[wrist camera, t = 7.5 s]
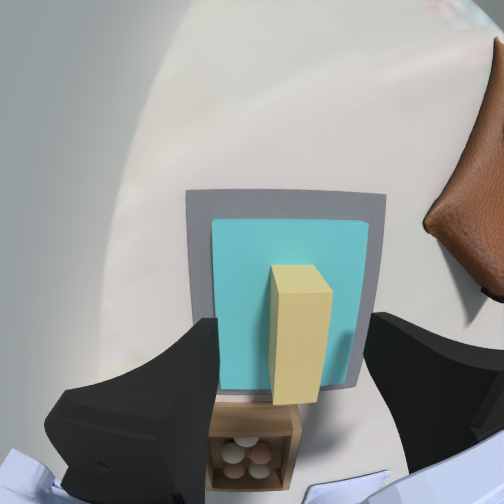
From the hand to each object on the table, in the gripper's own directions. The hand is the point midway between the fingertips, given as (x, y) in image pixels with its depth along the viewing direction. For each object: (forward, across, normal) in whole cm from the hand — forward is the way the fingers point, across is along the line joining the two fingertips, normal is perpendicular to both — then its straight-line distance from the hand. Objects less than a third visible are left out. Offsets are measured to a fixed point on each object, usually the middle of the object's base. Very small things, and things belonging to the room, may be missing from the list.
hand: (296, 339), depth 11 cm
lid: (+3, 0, 0) cm, 3 cm away
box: (+3, +2, +10) cm, 11 cm away
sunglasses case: (+4, -15, -9) cm, 18 cm away
